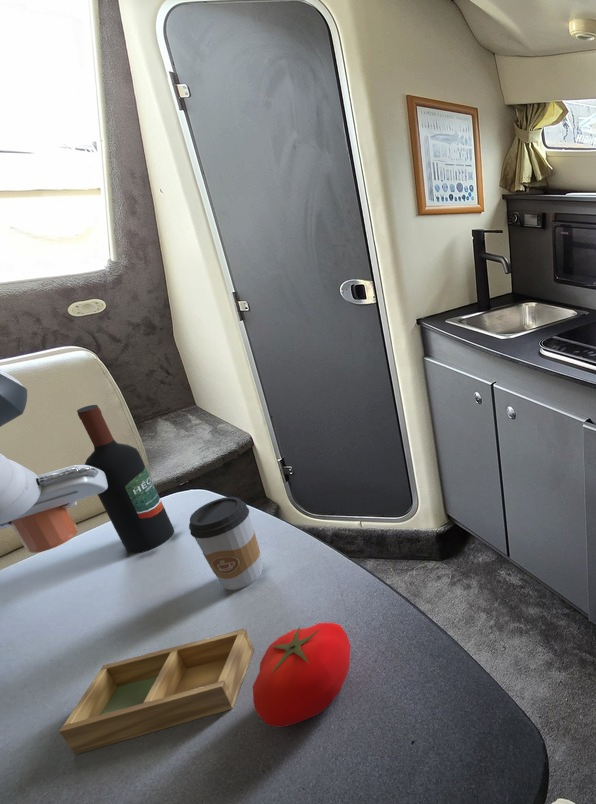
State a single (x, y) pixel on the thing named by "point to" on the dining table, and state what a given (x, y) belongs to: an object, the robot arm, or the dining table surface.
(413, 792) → the dining table surface
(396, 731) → the dining table surface
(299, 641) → the tomato
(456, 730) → the dining table surface
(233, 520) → the coffee cup
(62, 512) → the tumbler
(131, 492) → the wine bottle
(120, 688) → the tray
